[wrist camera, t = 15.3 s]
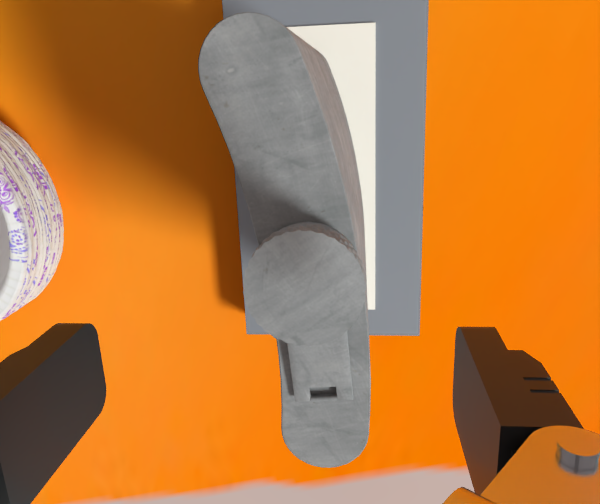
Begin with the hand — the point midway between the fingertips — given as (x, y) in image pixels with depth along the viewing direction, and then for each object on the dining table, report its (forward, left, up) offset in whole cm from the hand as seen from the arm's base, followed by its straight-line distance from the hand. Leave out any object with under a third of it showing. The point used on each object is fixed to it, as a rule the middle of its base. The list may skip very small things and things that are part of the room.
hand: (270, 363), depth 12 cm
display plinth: (0, 0, -27) cm, 27 cm away
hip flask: (0, 0, -24) cm, 24 cm away
